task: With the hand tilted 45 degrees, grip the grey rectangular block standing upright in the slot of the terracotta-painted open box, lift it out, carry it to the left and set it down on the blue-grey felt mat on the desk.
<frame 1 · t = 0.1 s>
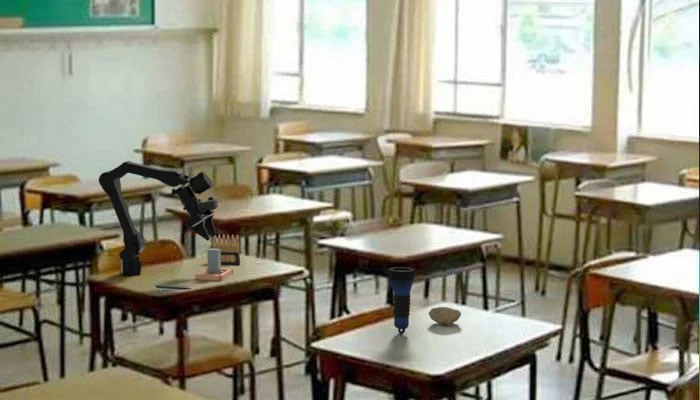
hand: (211, 237, 424), 15 cm above the table, tool tilted 30°, fingers open, 9 cm apart
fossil: (444, 326, 363), on the table
grey rectangular block: (214, 276, 423), point 1 cm above the table, touching slotted box
slotted box: (214, 279, 423), on the table
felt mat: (172, 287, 409), on the table
flashlight: (400, 334, 352), on the table
ammunition clip: (226, 265, 450), on the table
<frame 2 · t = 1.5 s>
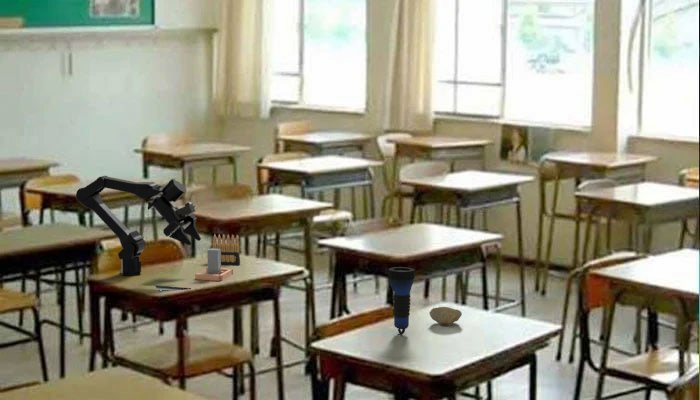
hand: (195, 242, 423), 13 cm above the table, tool tilted 45°, fingers open, 9 cm apart
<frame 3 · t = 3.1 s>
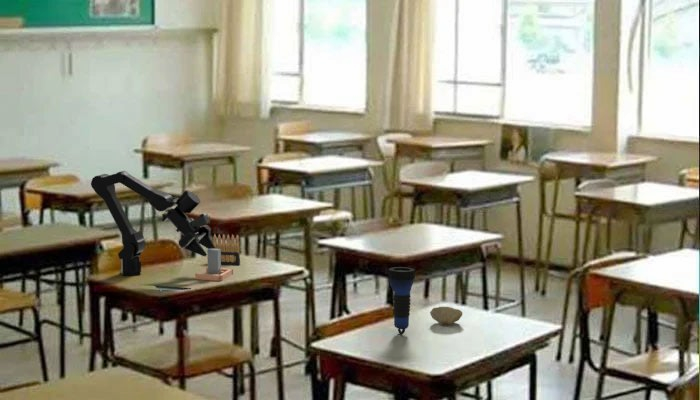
hand: (210, 253, 422), 10 cm above the table, tool tilted 45°, fingers open, 9 cm apart
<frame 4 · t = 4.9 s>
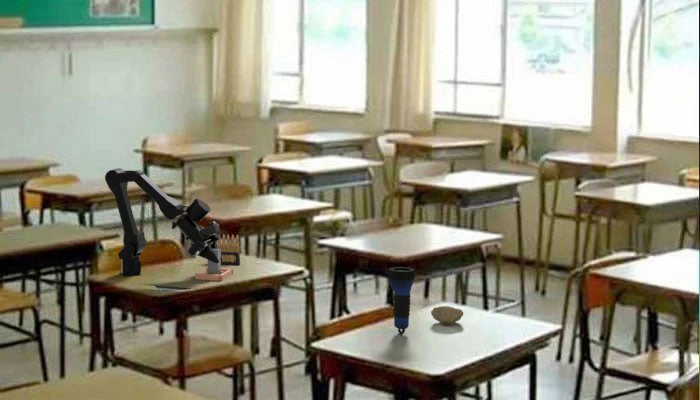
hand: (220, 261, 421), 7 cm above the table, tool tilted 45°, fingers closed on grey rectangular block, 3 cm apart
grey rectangular block: (214, 276, 423), point 1 cm above the table, touching gripper, slotted box
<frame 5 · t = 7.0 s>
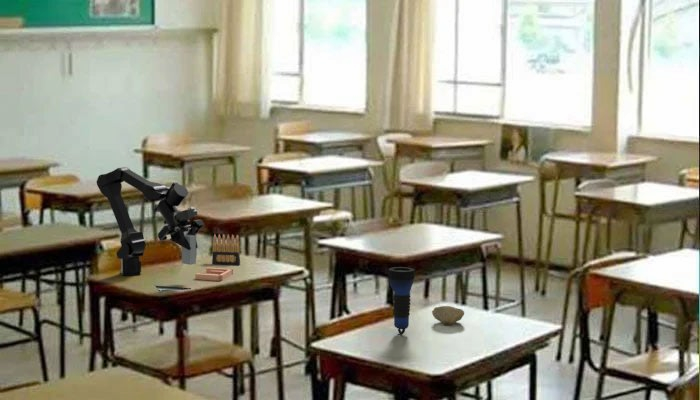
hand: (193, 248, 410), 13 cm above the table, tool tilted 45°, fingers closed on grey rectangular block, 3 cm apart
grey rectangular block: (188, 263, 413), point 8 cm above the table, touching gripper
when the fingers open (6 cm above the table, at t = 9.5 s): grey rectangular block stays where it is, resting on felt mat.
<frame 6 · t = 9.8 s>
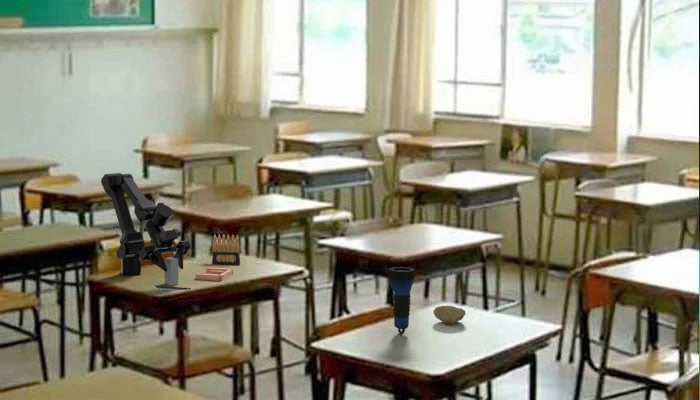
hand: (174, 269, 407), 7 cm above the table, tool tilted 45°, fingers open, 6 cm apart
grey rectangular block: (171, 286, 410), resting on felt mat
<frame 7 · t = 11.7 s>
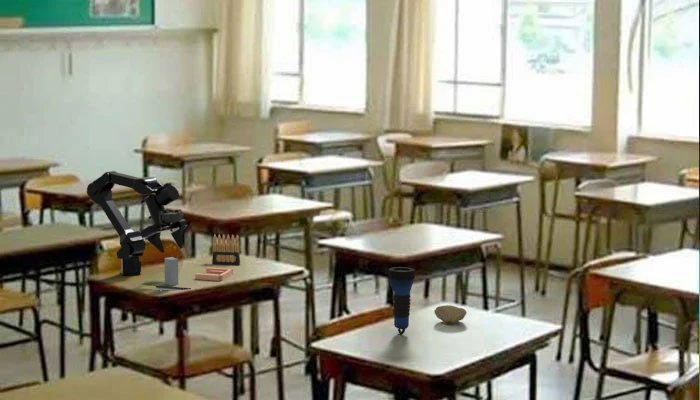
hand: (172, 250, 418), 11 cm above the table, tool tilted 30°, fingers open, 9 cm apart
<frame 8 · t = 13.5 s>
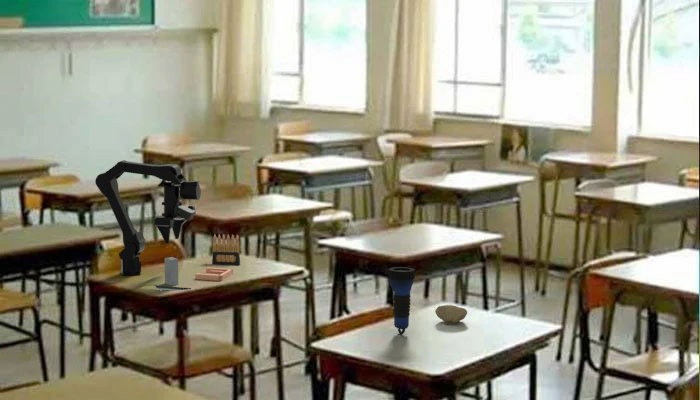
hand: (172, 241, 426), 13 cm above the table, tool pointing down, fingers open, 9 cm apart
at the end: grey rectangular block inside the target area (0.7 cm from its centre), resting on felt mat; grey rectangular block touching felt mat; the gripper is holding nothing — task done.
